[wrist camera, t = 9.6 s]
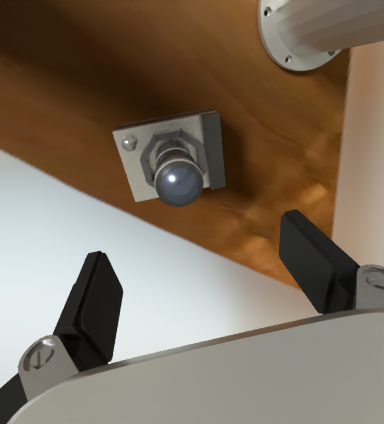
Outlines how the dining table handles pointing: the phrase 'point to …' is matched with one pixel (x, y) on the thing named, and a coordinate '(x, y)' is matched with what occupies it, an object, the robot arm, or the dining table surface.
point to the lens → (177, 175)
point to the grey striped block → (164, 133)
